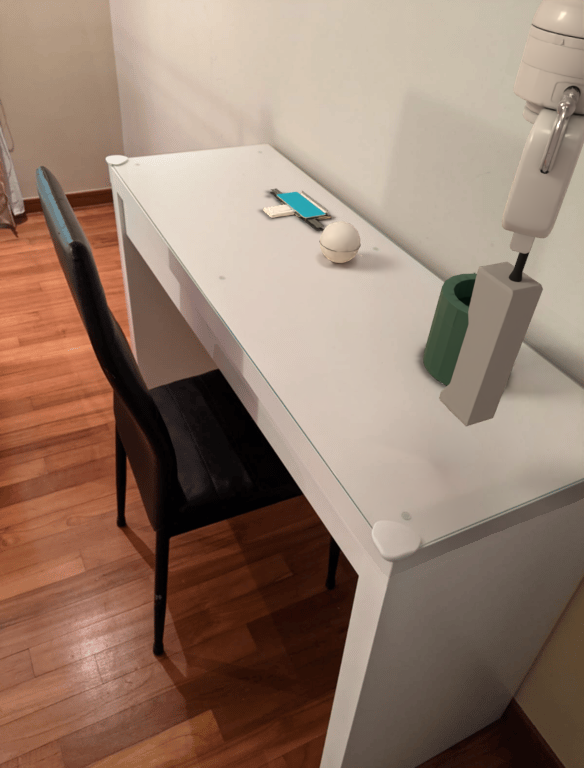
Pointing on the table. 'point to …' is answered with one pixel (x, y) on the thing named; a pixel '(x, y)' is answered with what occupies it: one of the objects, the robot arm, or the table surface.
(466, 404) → the vintage mobile phone
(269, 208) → the phone stand
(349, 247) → the cream domed seamed part
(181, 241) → the table surface
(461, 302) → the green hollow cylinder
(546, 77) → the robot arm
